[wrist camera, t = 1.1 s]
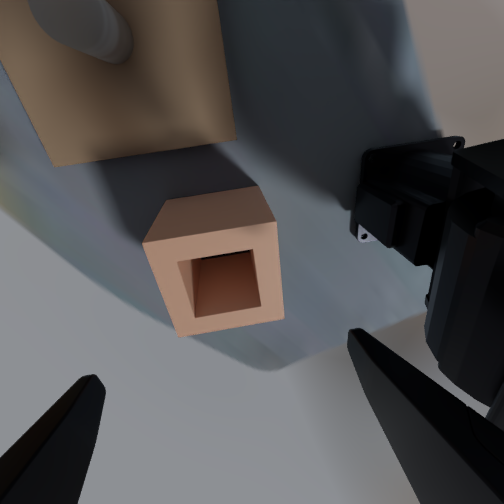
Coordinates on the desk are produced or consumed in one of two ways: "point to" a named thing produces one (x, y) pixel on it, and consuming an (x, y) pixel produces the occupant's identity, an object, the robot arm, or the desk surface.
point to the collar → (217, 261)
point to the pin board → (118, 75)
